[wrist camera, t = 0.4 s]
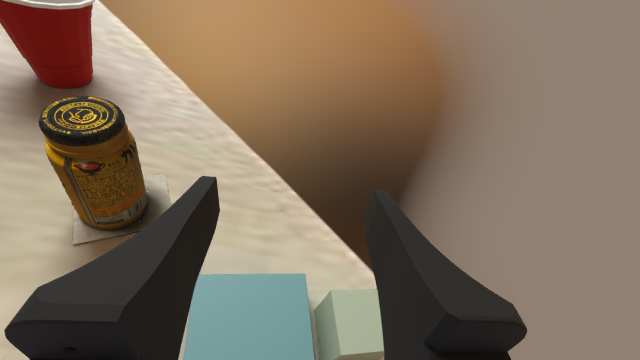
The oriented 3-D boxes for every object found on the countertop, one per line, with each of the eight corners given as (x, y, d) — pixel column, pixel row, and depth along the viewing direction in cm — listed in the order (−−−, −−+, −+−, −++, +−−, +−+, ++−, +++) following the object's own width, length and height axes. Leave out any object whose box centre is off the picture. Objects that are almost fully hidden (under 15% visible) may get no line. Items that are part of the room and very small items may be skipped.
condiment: (75, 185, 31) (27, 86, 22) (165, 174, 35) (153, 87, 26) (73, 245, 27) (15, 154, 19) (174, 225, 31) (165, 143, 23)
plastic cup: (131, 88, 43) (113, -1, 34) (37, 108, 36) (-14, 3, 27) (93, 50, 46) (68, -41, 37) (0, 62, 39) (-56, -47, 30)
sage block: (369, 362, 28) (397, 349, 24) (320, 368, 27) (340, 355, 23) (358, 308, 31) (380, 289, 27) (313, 310, 30) (330, 290, 26)
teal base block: (306, 404, 25) (318, 400, 22) (177, 424, 22) (174, 421, 19) (297, 287, 31) (305, 273, 29) (195, 289, 28) (195, 274, 26)
